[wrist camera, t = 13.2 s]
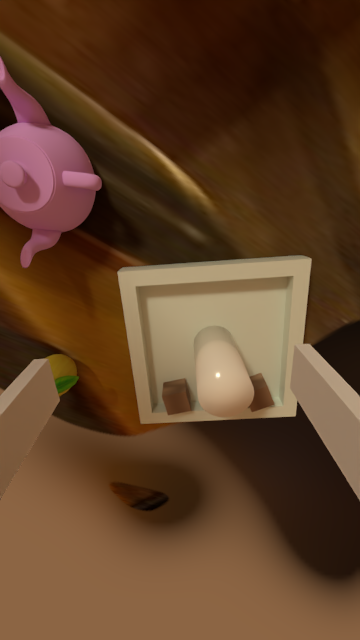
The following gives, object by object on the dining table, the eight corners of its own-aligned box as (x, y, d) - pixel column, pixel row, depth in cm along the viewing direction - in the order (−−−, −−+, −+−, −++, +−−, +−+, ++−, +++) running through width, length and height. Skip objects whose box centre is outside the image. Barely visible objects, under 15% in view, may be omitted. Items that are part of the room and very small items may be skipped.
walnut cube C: (246, 397, 44) (251, 412, 41) (239, 380, 43) (243, 394, 40) (267, 390, 43) (274, 404, 40) (260, 372, 42) (267, 385, 39)
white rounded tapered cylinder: (194, 363, 42) (199, 418, 31) (192, 326, 40) (196, 372, 28) (234, 361, 42) (253, 415, 30) (234, 324, 39) (254, 368, 28)
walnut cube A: (169, 400, 44) (168, 415, 41) (163, 382, 43) (161, 396, 40) (190, 396, 44) (190, 410, 41) (185, 378, 43) (185, 391, 40)
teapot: (58, 256, 37) (23, 269, 29) (-26, 164, 33) (-95, 148, 25) (125, 197, 34) (106, 193, 26) (41, 88, 30) (-11, 43, 22)
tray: (143, 411, 46) (140, 424, 43) (122, 267, 37) (117, 271, 35) (288, 403, 45) (295, 416, 43) (301, 255, 37) (311, 258, 34)
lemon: (38, 368, 43) (-1, 411, 34) (49, 338, 41) (11, 374, 32) (79, 385, 44) (52, 431, 35) (92, 356, 42) (66, 396, 33)
